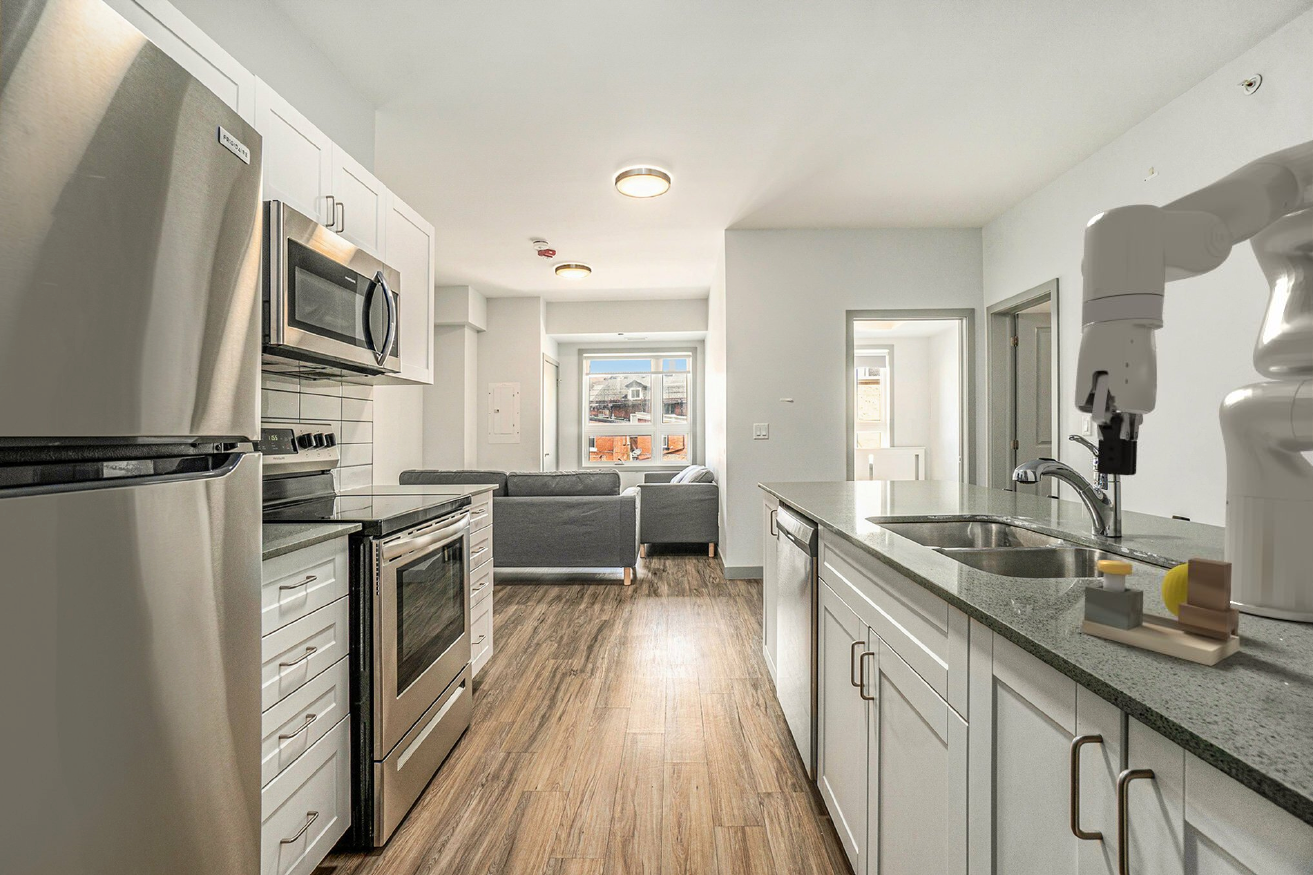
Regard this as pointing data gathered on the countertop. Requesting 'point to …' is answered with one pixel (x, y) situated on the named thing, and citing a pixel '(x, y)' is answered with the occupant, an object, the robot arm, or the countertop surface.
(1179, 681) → the countertop surface
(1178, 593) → the lemon
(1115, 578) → the button
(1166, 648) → the rail base
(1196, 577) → the block
